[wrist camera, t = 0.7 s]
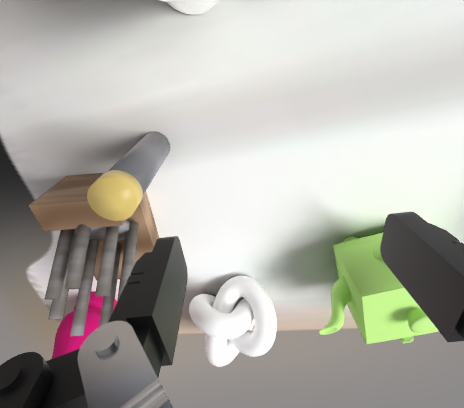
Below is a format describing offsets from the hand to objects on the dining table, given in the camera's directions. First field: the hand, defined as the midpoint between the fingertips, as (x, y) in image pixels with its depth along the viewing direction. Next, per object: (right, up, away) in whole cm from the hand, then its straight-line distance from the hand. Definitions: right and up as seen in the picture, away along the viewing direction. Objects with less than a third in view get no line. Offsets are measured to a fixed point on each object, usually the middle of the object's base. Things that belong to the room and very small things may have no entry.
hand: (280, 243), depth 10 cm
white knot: (-1, -12, +30) cm, 32 cm away
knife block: (-16, -1, +23) cm, 28 cm away
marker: (-10, +8, +18) cm, 22 cm away
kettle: (+17, -5, +25) cm, 31 cm away
